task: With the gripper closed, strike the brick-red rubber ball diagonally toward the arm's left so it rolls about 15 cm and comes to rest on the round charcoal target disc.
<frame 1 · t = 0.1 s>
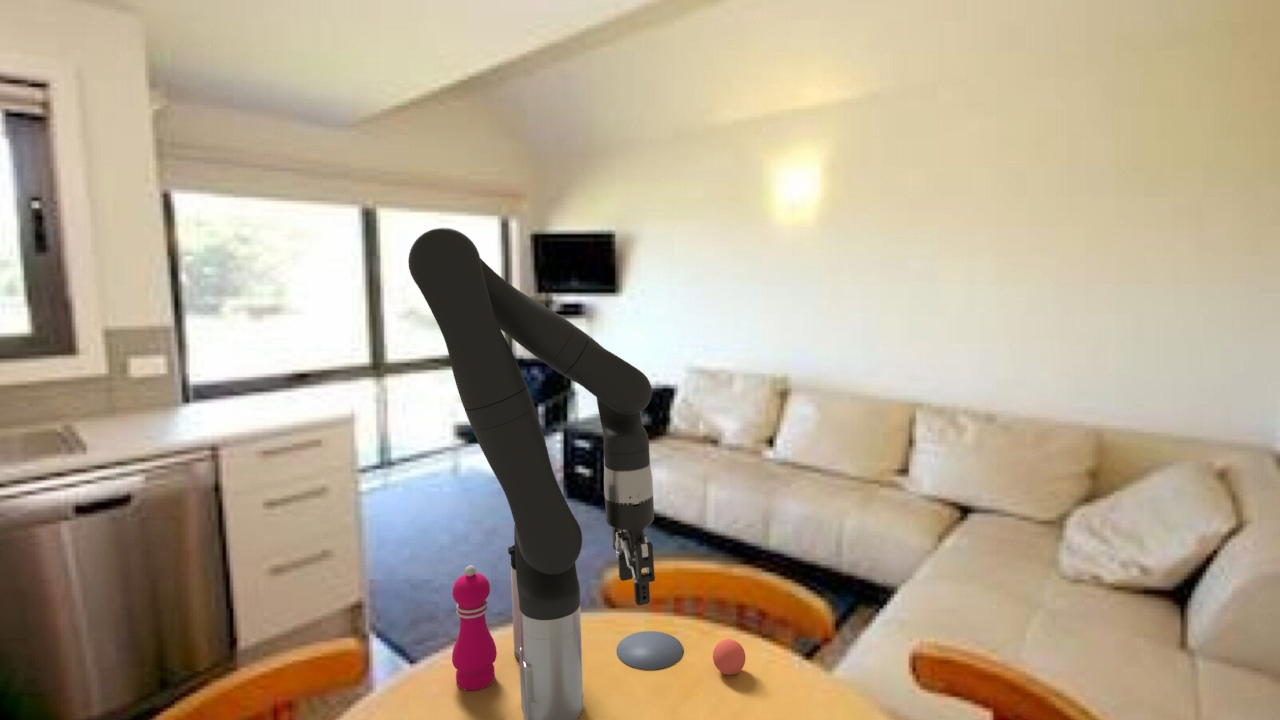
hand: (634, 590, 103), 17 cm above the table, tool pointing down, fingers open, 8 cm apart
ball: (729, 656, 109), on the table
pepper mill: (475, 680, 109), on the table
target disc: (649, 650, 117), on the table
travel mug: (531, 653, 116), on the table
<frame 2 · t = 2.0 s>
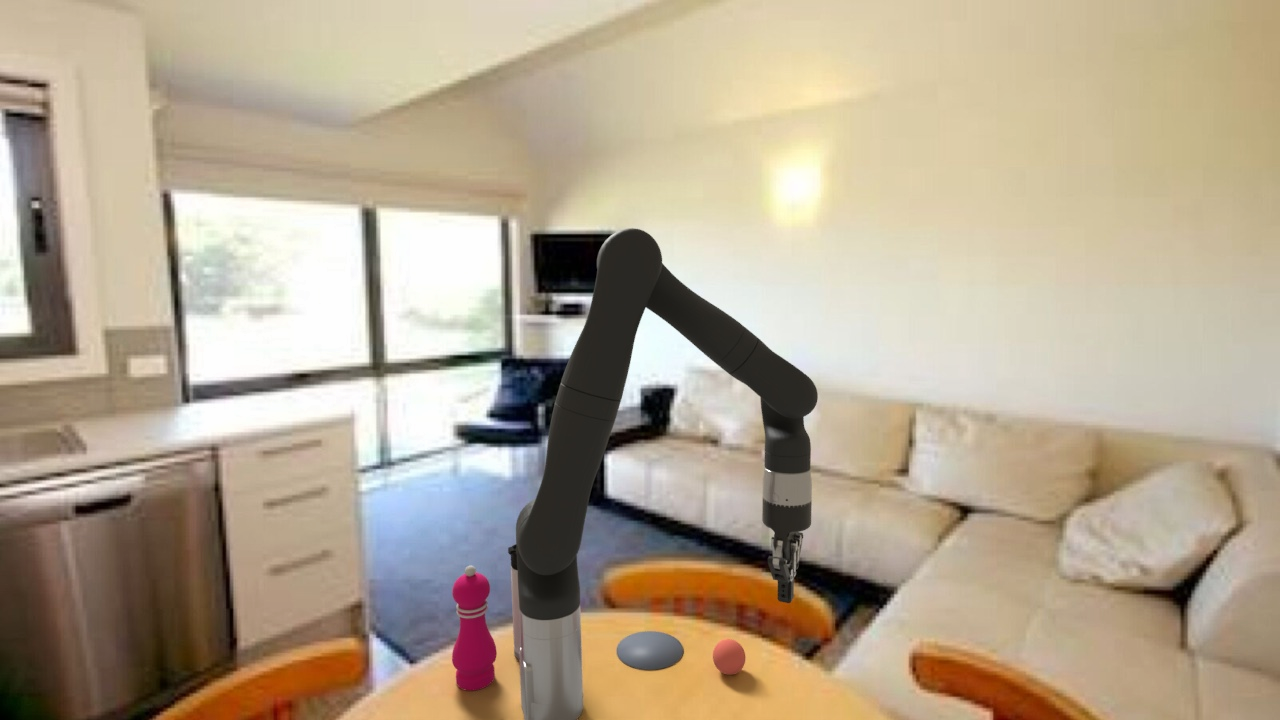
hand: (785, 600, 104), 15 cm above the table, tool pointing down, fingers closed
nothing on the table moved.
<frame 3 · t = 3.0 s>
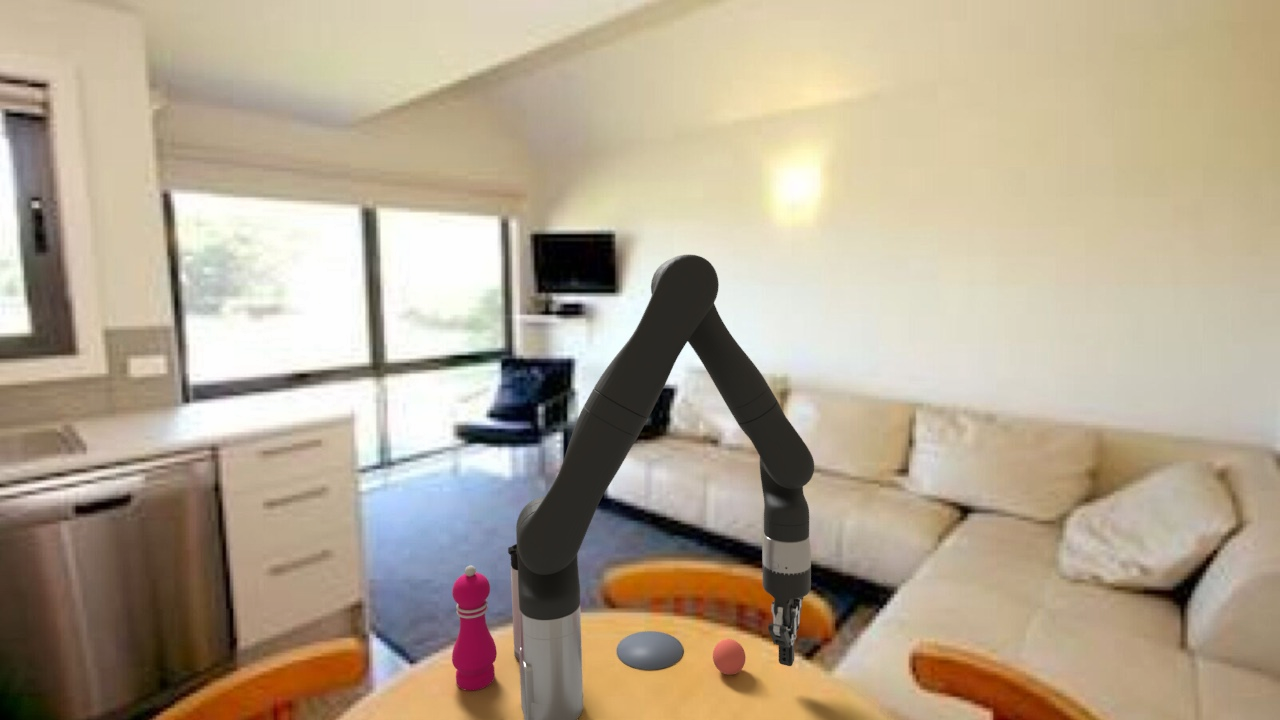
hand: (786, 662, 105), 4 cm above the table, tool pointing down, fingers closed
nothing on the table moved.
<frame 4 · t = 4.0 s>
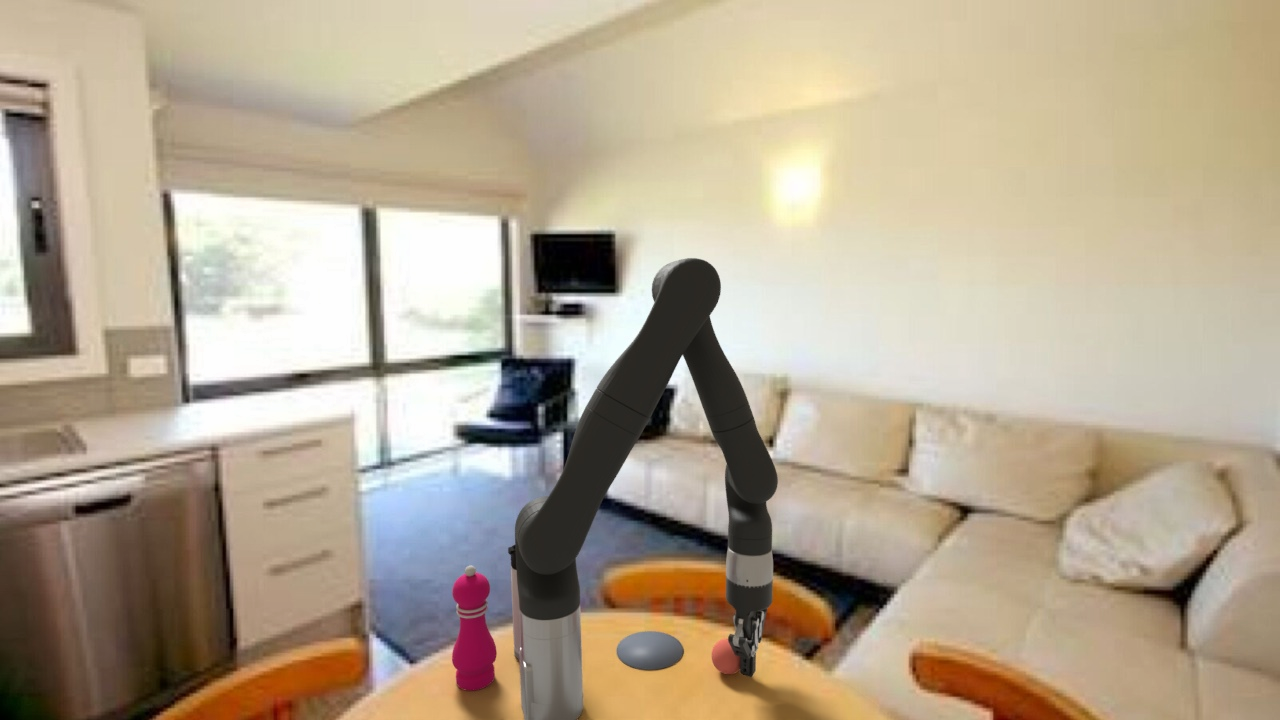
hand: (747, 673, 107), 1 cm above the table, tool pointing down, fingers closed
ball: (727, 656, 110), on the table, touching gripper
everything else where it was.
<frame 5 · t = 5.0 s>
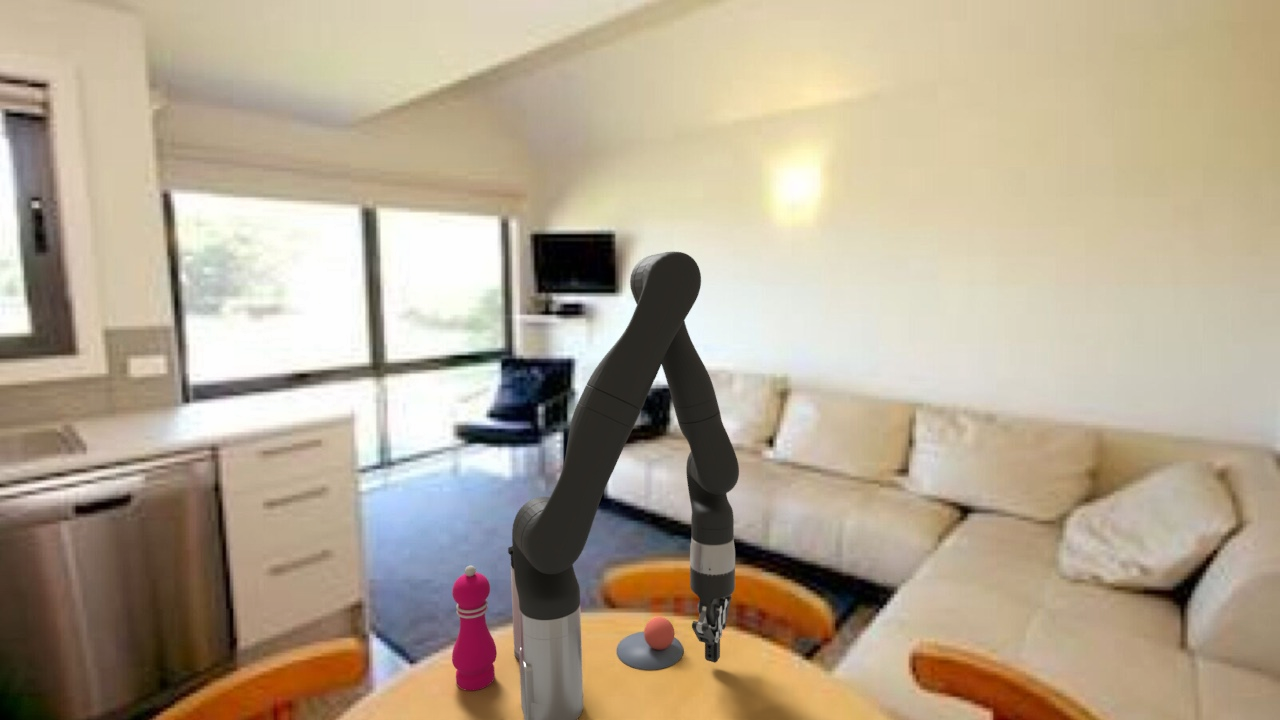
hand: (712, 659, 111), 2 cm above the table, tool pointing down, fingers closed
ball: (659, 633, 117), resting on target disc
everything else where it was.
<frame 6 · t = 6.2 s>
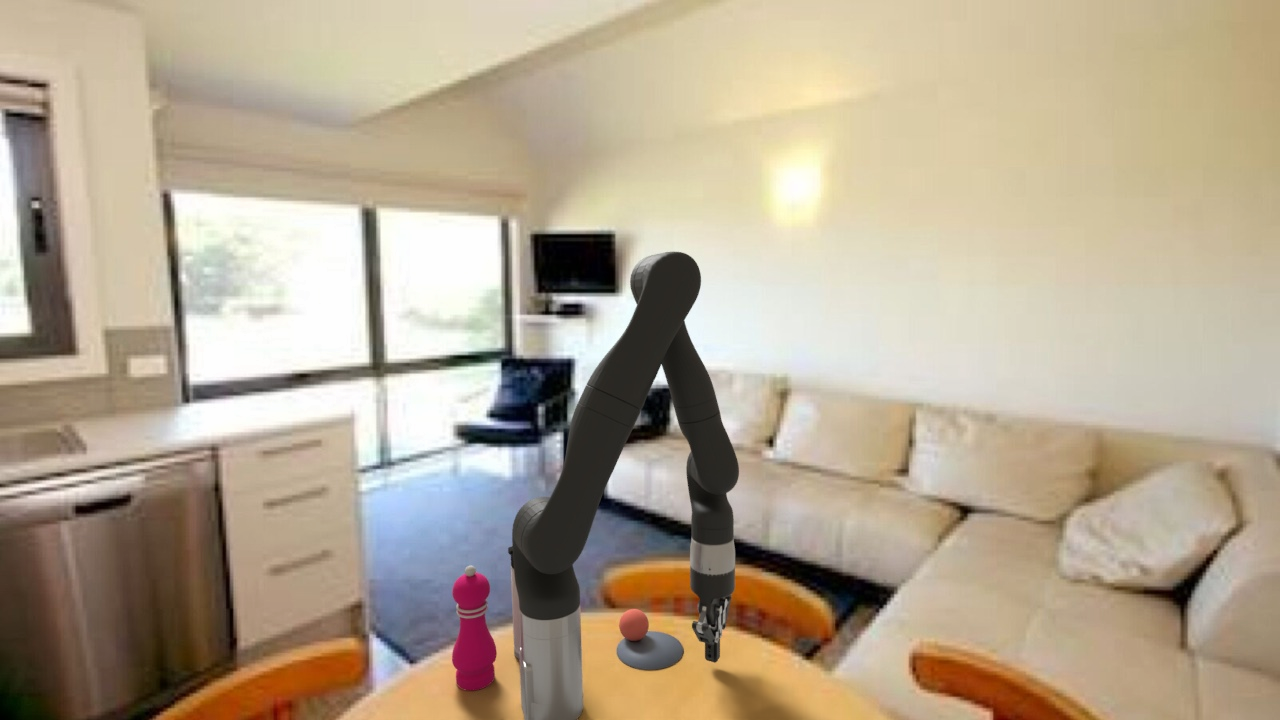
hand: (712, 659, 111), 2 cm above the table, tool pointing down, fingers closed
ball: (633, 624, 120), resting on target disc
everything else where it was.
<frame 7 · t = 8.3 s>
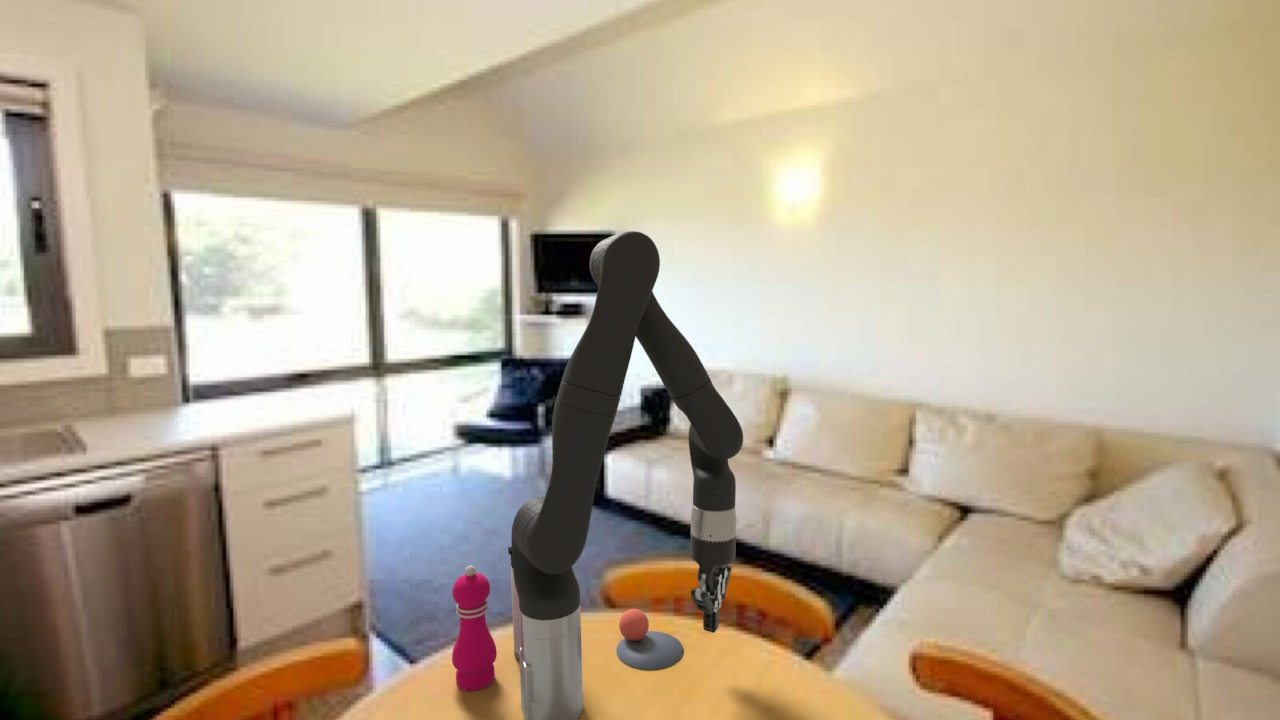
hand: (710, 629, 110), 7 cm above the table, tool pointing down, fingers closed
nothing on the table moved.
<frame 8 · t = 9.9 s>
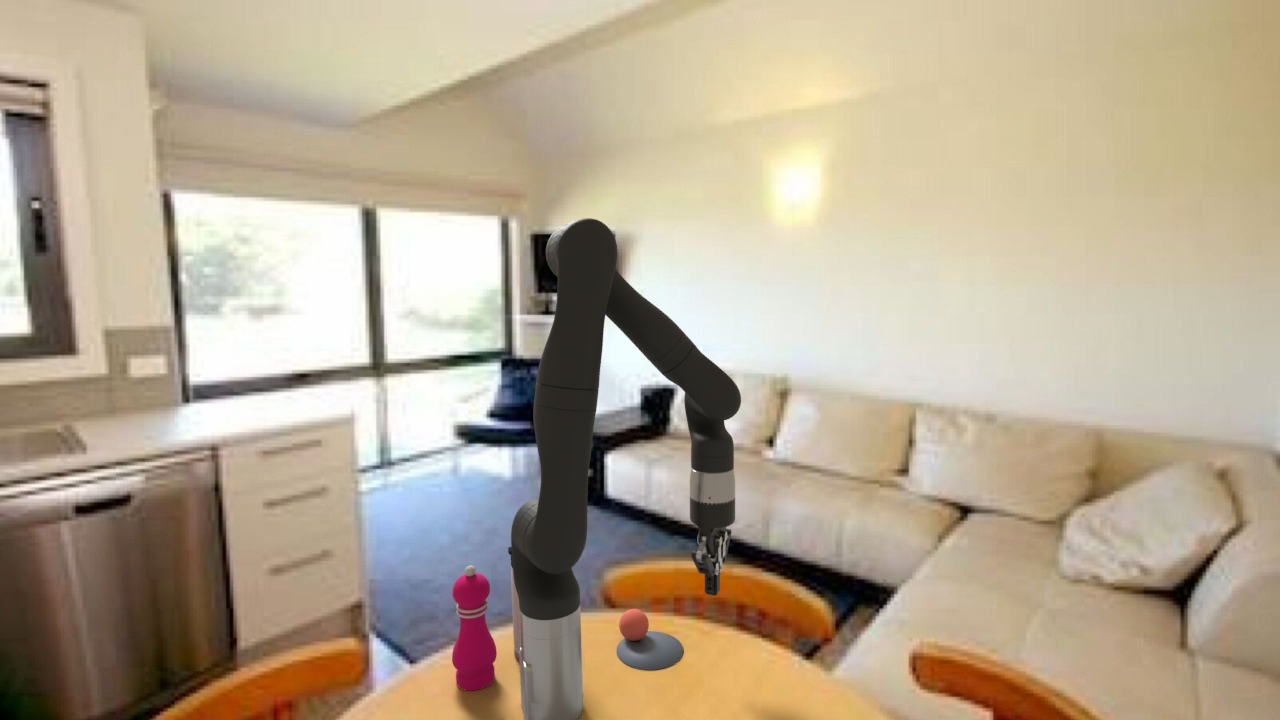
hand: (712, 592, 109), 13 cm above the table, tool pointing down, fingers closed
nothing on the table moved.
at the end: ball 4.7 cm from the target disc (horizontally); ball at rest at the end (0.0 cm/s); ball moved 19.4 cm from its start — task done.
